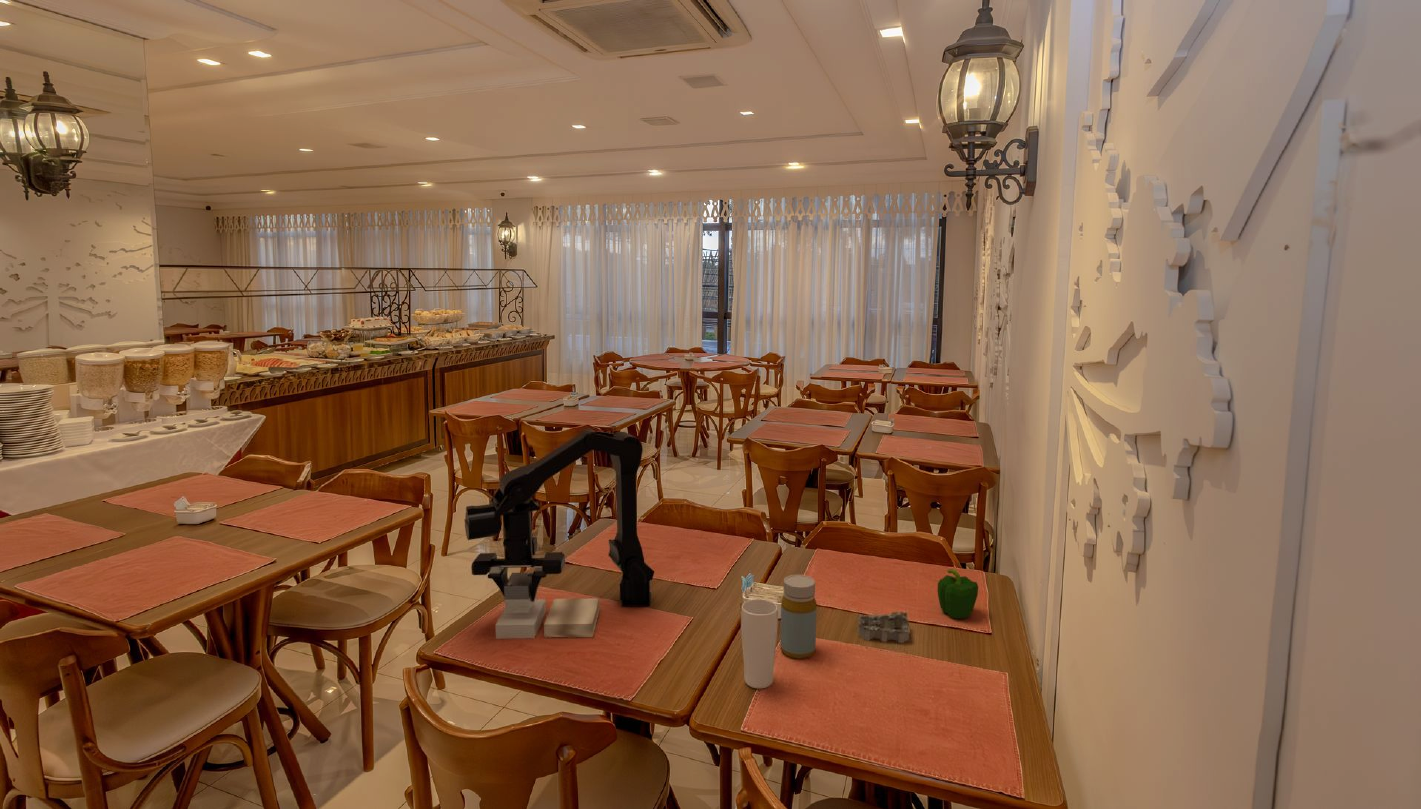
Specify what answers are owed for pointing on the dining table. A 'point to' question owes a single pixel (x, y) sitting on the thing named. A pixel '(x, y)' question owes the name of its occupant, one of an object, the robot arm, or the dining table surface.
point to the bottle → (798, 617)
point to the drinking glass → (759, 641)
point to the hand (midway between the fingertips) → (521, 600)
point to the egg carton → (884, 621)
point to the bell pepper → (957, 595)
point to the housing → (518, 593)
